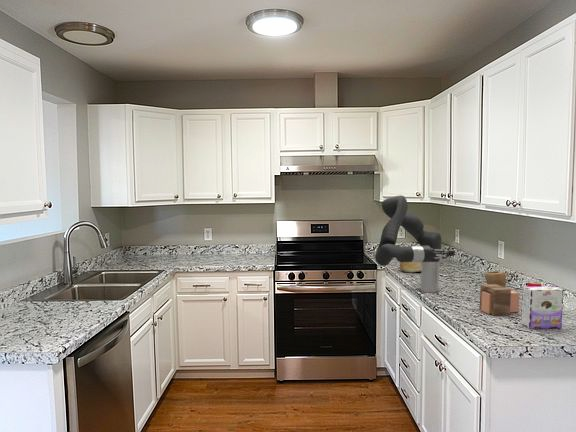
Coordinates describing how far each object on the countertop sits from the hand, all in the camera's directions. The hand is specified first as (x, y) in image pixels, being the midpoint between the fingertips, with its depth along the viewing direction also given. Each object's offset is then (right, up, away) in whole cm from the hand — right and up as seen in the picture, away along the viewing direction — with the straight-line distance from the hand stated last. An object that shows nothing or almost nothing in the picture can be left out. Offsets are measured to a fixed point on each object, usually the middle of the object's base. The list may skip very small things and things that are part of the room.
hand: (453, 253), depth 179 cm
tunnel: (+21, -28, +4) cm, 35 cm away
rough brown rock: (+14, -22, +95) cm, 99 cm away
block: (+24, -28, +5) cm, 37 cm away
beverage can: (+45, -28, +14) cm, 55 cm away
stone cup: (+34, -27, +25) cm, 50 cm away
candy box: (+31, -30, -14) cm, 45 cm away
